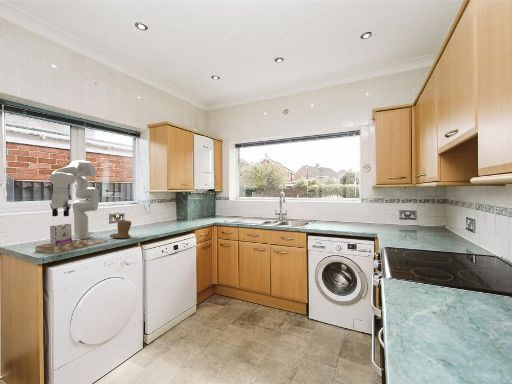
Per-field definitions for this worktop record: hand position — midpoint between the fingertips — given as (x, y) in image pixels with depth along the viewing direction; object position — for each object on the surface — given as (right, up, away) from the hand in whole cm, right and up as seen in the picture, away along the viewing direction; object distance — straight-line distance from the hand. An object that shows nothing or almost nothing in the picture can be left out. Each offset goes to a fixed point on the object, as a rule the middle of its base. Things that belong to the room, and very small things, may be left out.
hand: (60, 216), depth 164 cm
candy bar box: (0, -22, +1) cm, 22 cm away
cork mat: (+12, -22, +18) cm, 31 cm away
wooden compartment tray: (0, -22, +2) cm, 22 cm away
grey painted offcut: (+2, -20, +9) cm, 22 cm away
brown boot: (+20, -22, +39) cm, 49 cm away
